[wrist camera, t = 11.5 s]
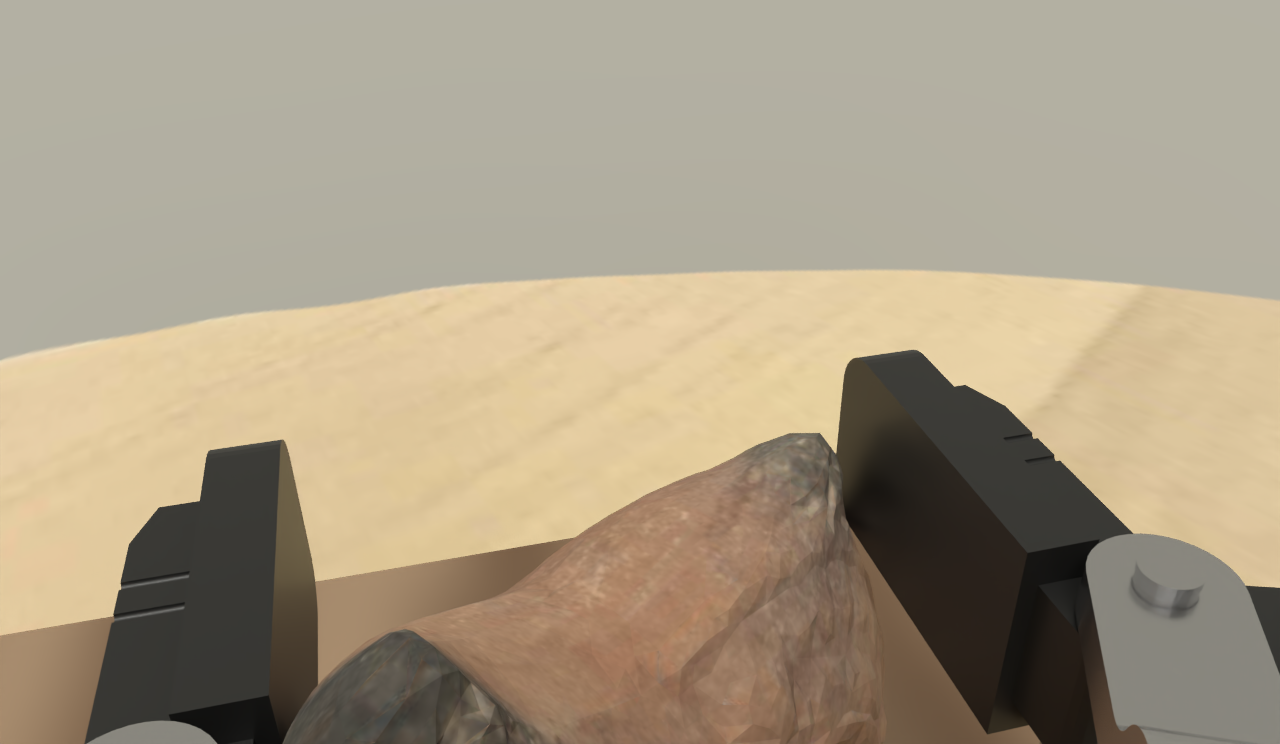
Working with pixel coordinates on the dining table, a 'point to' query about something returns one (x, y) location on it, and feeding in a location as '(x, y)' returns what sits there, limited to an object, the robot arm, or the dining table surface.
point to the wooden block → (378, 601)
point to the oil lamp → (647, 630)
